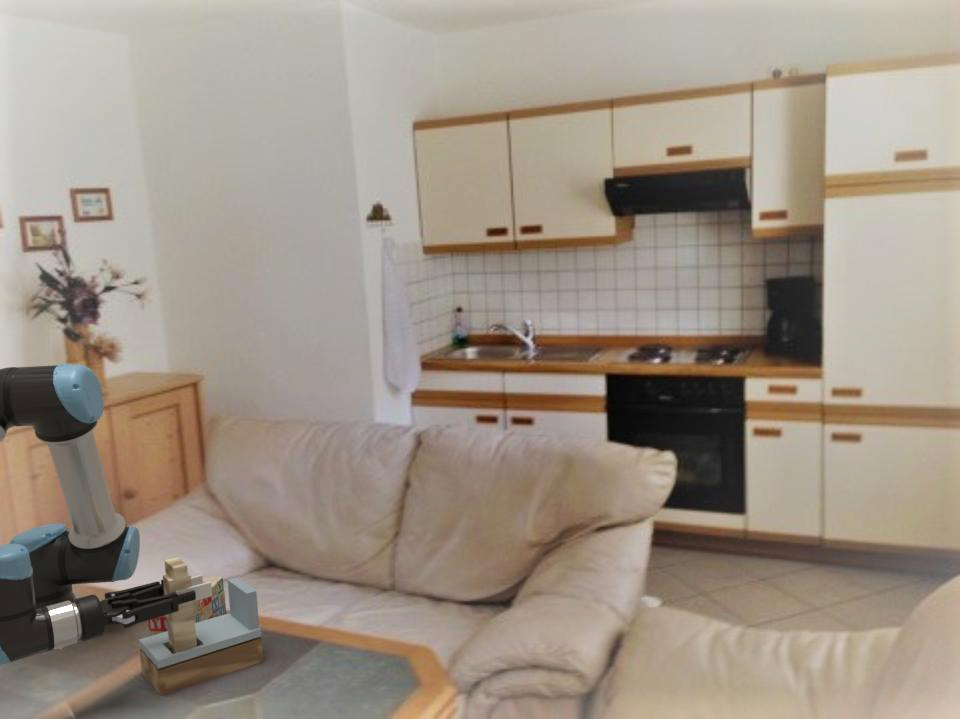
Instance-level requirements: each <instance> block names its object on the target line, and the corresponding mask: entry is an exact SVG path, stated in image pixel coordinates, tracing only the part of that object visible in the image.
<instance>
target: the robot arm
mask: <svg viewBox="0 0 960 719" xmlns="http://www.w3.org/2000/svg"><path fill="white" fill-rule="evenodd" d="M103 392H104V391H103V389H102V385H101V382H100V381H99V378H98V376H97V375H96V374H95V371H93V370H92V369H91V368H90V367H88V366H86V365H84V364H68V363H60V364H57V365H54V364H53V365H38V366H36V365H35V366H33V365H32V366H21V367H20V366H17V367H16V366H12V367H11V366H9V367H4V368H0V443H2V442H3V441H4V440H5V438H6V435H7V431H8V430H9V429H11V428H13V427H32V428H33V430H34V434H35V436H36V438H37V439H38V440H40V441H41V442H43V443H46V444H47V447H48V449H49V453H50V455H51V459H52V460H51V461H52V463H53V466H54V470H55V472H56V475H57V478H58V482H59V485H60V489H61V491H62V495H63V499H64V501H65V502H64V503H65V504H66V505H65V506H66V507H67V511H68V514H69V518H70V521H71V524H72V526H71V528H70V529H69V531H68V527H67V525H66V524H65V523H58V522H57V523H51V524H50V523H49V524H45V525H41V526H40V525H39V526H36V527H34V528H31V529H27V530H25V531H23V532H21V533H18V534H17V535H15V536H13V537H12V538H11V540H10V541H9V543H7V544H3V545H0V666H2V665H6V664H12V663H14V662H16V661H20V660H24V659H27V658H30V657H34V656H37V655H39V654H43V653H46V652H51V651H55V650H59V651H61V650H63V649H64V647H68V646H71V645H75V644H77V643H78V641H81V642H86V641H89V640H92V639H96V638H100V637H101V636H103V635H104V632H105V628H106V627H107V626H113V625H120V624H122V626H123V628H124V629H129V628H131V627H133V626H135V625H138V624H141V623H144V622H148V620H151V619H154V618H157V617H161V616H164V615H167V614H171V613H174V612H177V611H179V605H183V604H186V603H190V602H193V601H197V600H200V599H204V598H207V597H211V596H212V589H211V582H206V583H203V578H202V577H203V575H202V574H199V575H195V576H191V583H192V586H191V587H188V588H184V589H180V590H177V591H175V593H173V594H169V595H164V585H163V579H161V580H160V581H153V582H151V583H150V582H149V583H146V584H141V585H138V586H134V587H130V588H125V589H121V590H117V591H111V592H106V593H104V599H102V600H100V599H99V597H98V596H97V595H95V594H89V595H85V596H82V597H76V596H75V594H74V591H73V590H74V589H73V585H83V584H84V585H85V584H97V583H98V584H99V583H115V582H119V581H125V580H129V579H130V578H131V577H132V576H134V574H135V572H136V569H137V565H138V561H139V556H140V545H141V544H140V543H141V536H140V531H139V529H138V527H136V526H133V525H130V526H128V525H127V523H126V520H125V518H124V516H123V515H121V514H120V513H117V512H116V511H115V508H114V505H113V501H112V496H111V494H110V489H109V486H108V482H107V478H106V476H105V470H104V468H103V464H102V461H101V457H100V453H99V449H98V446H97V442H96V438H95V434H94V430H95V428H96V427H97V425H98V423H99V422H98V421H99V420H100V419H101V417H102V416H103V412H104V407H105V404H104V399H103V396H104V393H103Z"/></svg>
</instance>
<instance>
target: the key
mask: <svg viewBox="0 0 960 719" xmlns="http://www.w3.org/2000/svg"><path fill="white" fill-rule="evenodd" d="M164 571H165V574H162V580H163V585H164V595H169V594H173V593H175V591H177V590H180V589H184V588H188V587H191V586H192V583H191V577H192V576H191V574H190V573H189V572H188V564H187V563H186V562H184V561H183V560H181V559H180V558H179V557H174V558H168V559H165V560H164ZM166 617H167V628H168V639H169V650H170V652H171V653H172V654H174V653H177V652H181V651H184V650H187V649H190V648H194V647H197V640H196V628H195V617H194V606H193V602H190V603H186V604H183V605H179V611H177V612H174V613H171V614H167V615H166Z"/></svg>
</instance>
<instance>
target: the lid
mask: <svg viewBox="0 0 960 719" xmlns="http://www.w3.org/2000/svg"><path fill="white" fill-rule="evenodd" d="M227 589H228V599H229V600H228V602H229V613H228V612H227V613H226V614H225V615H221V616H218V617H215V618H211V619H208V620H204V621H201V622H197V623H195V628H196V640H197V645H198V646H197V647H194V648H190V649H187V650H184V651H181V652H177V653H174V654H172V653H171V652H170V651H169V650H168V649H169V639H168V631H167V632H163V633H160V634H156V635H153V636H150V635H149V636H147V637H143V638H139V639H138V645H139V649H142V650H143V652H144V653H145V654H146V655H147V656H148V657H149V659H150V660H151V661H152V662H153V663H154V664H155V665H156V667H157V668H158V669H159V668H162V667H166V666H169V665H172V664H175V663H178V662H181V661H185V660H188V659H191V658H194V657H197V656H200V655H204V654H207V653H210V652H213V651H216V650H219V649H223V648H226V647H229V646H232V645H235V644H238V643H242V642H245V641H248V640H251V639H254V638H257V637H261V638H262V636H263V635H262V628H261V627H260V624H259V622H260V621H259V620H260V619H259V611H258V610H259V609H258V608H259V606H258V595H257V594H258V593H257V590H256V589H255V588H253V587H252V586H250V585H248V584H247V583H246V582H244V581H243V580H242V579H240V578H238V577H233V578H229V579H227Z"/></svg>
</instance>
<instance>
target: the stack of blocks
mask: <svg viewBox="0 0 960 719" xmlns="http://www.w3.org/2000/svg"><path fill="white" fill-rule="evenodd" d="M202 578H203V583H206V582H211V589H212V596H211V597H207V598H204V599H200V600H197V601H193V606H194V617H195V623H197V622H201V621H204V620H208V619H211V618H215V617H218V616H221V615H225V614H227V607H226V595H225V593H226V592H225V587H224V586H225V585H224V578H223V577H221V576H220V577H218V576H213V577H212V576H211V577H209V576H207V577H206V576H202ZM147 622H148V630H149V636H153V635H156V634H160V633H163V632H167V631H168V628H167V617H166V615H164V616H161V617H157V618H154V619H151V620H147Z"/></svg>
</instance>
